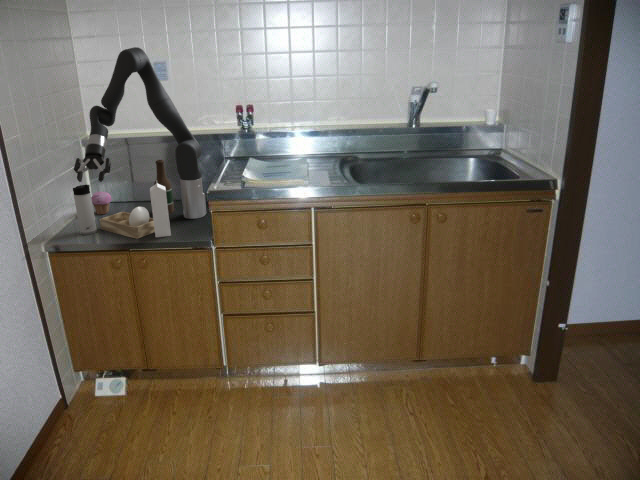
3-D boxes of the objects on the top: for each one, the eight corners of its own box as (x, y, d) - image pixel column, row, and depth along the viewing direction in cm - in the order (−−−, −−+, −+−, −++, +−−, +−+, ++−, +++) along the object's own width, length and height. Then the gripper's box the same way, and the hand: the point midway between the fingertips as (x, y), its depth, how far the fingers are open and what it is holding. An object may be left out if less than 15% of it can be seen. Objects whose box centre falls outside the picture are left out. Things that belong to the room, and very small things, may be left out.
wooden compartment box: (124, 221, 236) (123, 211, 235) (160, 229, 225) (158, 219, 224) (101, 229, 227) (99, 219, 225) (137, 238, 216) (135, 228, 214)
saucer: (148, 225, 226) (145, 203, 223) (150, 226, 226) (147, 204, 222) (129, 232, 219) (126, 209, 215) (132, 233, 218) (128, 210, 215)
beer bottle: (178, 211, 248) (172, 159, 240) (165, 216, 242) (158, 163, 234) (166, 208, 252) (160, 157, 244) (153, 213, 246) (146, 161, 238)
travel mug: (91, 235, 220) (83, 187, 213) (77, 234, 221) (68, 186, 214) (100, 230, 225) (93, 183, 218) (86, 229, 227) (78, 182, 220)
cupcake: (95, 210, 251) (91, 189, 247) (114, 209, 252) (111, 188, 249) (91, 216, 243) (87, 195, 239) (111, 215, 244) (108, 193, 241)
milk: (155, 237, 217) (148, 183, 209) (155, 232, 222) (148, 180, 214) (171, 235, 218) (164, 182, 211) (170, 231, 224) (164, 178, 216)
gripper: (75, 142, 228) (68, 176, 221) (109, 142, 228) (103, 176, 221) (83, 152, 235) (76, 185, 228) (116, 152, 235) (110, 185, 228)
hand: (89, 180), depth 225 cm, fingers open, 8 cm apart
